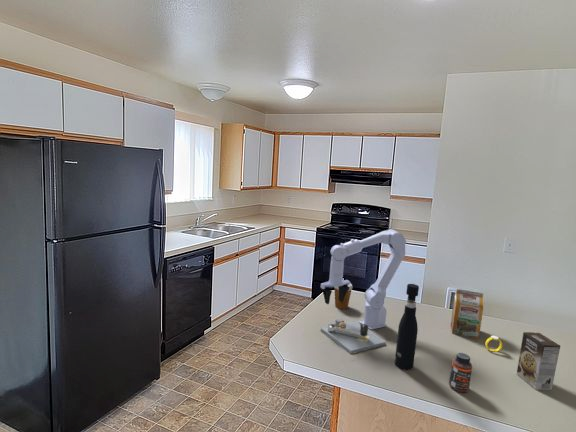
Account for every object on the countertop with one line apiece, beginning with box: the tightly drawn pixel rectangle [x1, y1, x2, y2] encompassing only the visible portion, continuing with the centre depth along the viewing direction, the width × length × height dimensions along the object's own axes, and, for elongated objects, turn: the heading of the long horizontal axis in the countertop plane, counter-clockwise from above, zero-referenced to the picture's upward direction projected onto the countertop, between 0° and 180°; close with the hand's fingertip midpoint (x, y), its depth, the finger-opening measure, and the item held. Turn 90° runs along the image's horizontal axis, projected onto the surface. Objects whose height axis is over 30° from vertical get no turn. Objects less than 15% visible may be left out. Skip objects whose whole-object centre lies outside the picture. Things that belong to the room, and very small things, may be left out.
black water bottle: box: [394, 283, 420, 371], centre depth 124 cm, size 6×6×30 cm
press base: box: [320, 318, 387, 355], centre depth 145 cm, size 18×20×4 cm
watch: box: [484, 335, 503, 353], centre depth 141 cm, size 6×3×6 cm, turn 86°
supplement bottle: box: [448, 352, 473, 393], centre depth 114 cm, size 6×6×11 cm
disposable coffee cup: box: [333, 282, 353, 310], centre depth 176 cm, size 10×10×12 cm
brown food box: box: [516, 331, 561, 391], centre depth 120 cm, size 9×6×16 cm
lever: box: [327, 323, 369, 339], centre depth 145 cm, size 16×4×5 cm, turn 69°
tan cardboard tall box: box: [450, 288, 484, 340], centre depth 156 cm, size 11×11×19 cm
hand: (333, 302), depth 156 cm, fingers open, 7 cm apart
